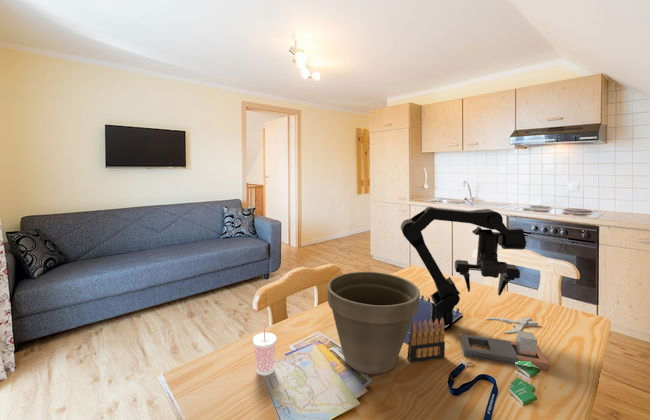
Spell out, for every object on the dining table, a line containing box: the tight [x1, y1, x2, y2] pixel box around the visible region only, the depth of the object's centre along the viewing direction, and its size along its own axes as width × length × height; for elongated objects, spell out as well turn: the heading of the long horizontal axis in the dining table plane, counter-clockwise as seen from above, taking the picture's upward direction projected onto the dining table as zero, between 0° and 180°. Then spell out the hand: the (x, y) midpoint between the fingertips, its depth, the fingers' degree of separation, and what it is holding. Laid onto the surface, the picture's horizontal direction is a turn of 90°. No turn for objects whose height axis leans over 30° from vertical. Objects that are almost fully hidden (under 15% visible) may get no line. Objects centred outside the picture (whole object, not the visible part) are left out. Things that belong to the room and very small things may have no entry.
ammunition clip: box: [406, 318, 446, 364], centre depth 88 cm, size 11×2×12 cm, turn 102°
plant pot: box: [326, 271, 421, 375], centre depth 87 cm, size 25×25×22 cm
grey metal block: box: [515, 330, 538, 358], centre depth 88 cm, size 4×4×7 cm
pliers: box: [485, 317, 539, 334], centre depth 107 cm, size 10×2×15 cm
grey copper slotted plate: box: [460, 333, 550, 371], centre depth 91 cm, size 21×9×2 cm, turn 73°
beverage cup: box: [252, 320, 277, 376], centre depth 82 cm, size 6×6×14 cm
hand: (483, 293), depth 104 cm, fingers open, 9 cm apart
